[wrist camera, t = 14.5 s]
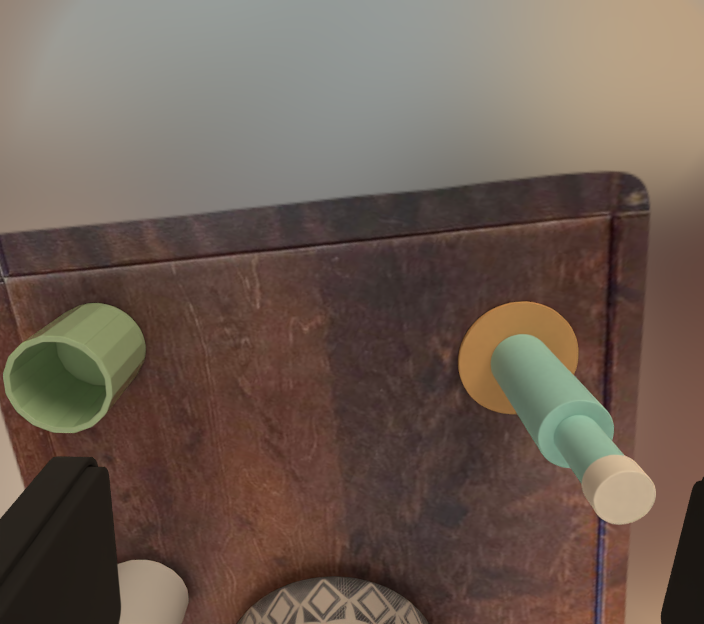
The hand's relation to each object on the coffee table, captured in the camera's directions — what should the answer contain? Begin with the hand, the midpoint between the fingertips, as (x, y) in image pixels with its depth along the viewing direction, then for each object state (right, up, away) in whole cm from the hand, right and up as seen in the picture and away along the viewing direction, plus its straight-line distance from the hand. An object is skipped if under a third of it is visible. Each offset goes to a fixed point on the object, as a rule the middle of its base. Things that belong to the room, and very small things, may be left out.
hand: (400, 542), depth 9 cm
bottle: (+12, 0, +35) cm, 37 cm away
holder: (-19, +1, +34) cm, 39 cm away
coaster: (+12, 0, +35) cm, 37 cm away
